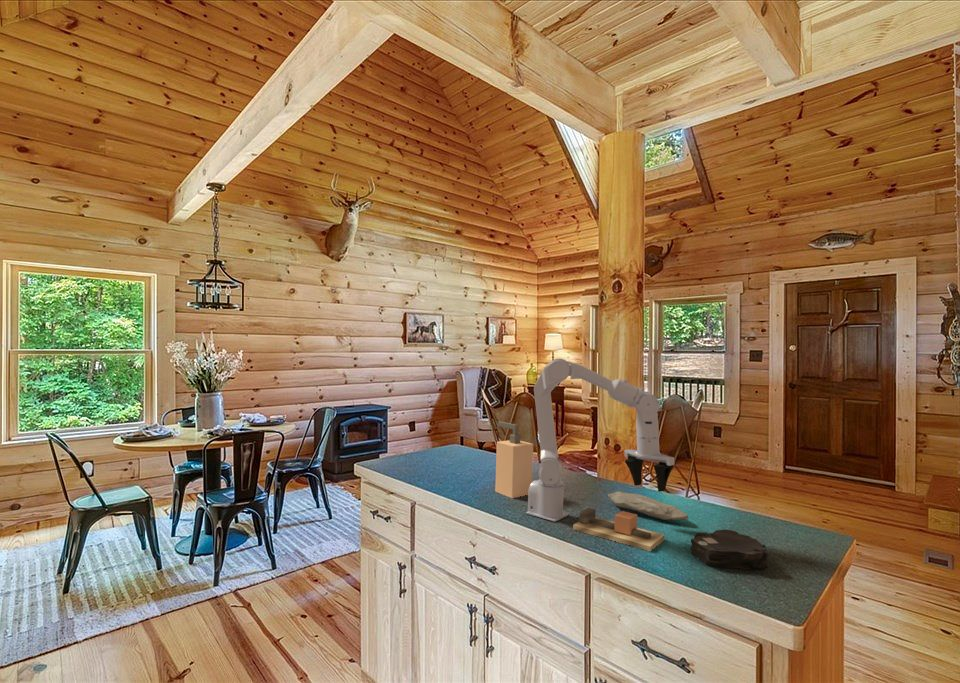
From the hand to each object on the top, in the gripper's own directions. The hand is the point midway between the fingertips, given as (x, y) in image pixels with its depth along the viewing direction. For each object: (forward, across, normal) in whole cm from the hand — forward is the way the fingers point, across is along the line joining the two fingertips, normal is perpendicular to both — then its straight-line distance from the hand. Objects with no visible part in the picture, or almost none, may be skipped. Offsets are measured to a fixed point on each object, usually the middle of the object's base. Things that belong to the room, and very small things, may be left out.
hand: (649, 487), depth 129 cm
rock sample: (+11, -23, +2) cm, 25 cm away
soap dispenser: (+8, +43, +15) cm, 47 cm away
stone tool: (+11, +8, -8) cm, 15 cm away
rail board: (+10, 0, +13) cm, 16 cm away
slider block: (+8, -2, +12) cm, 15 cm away
